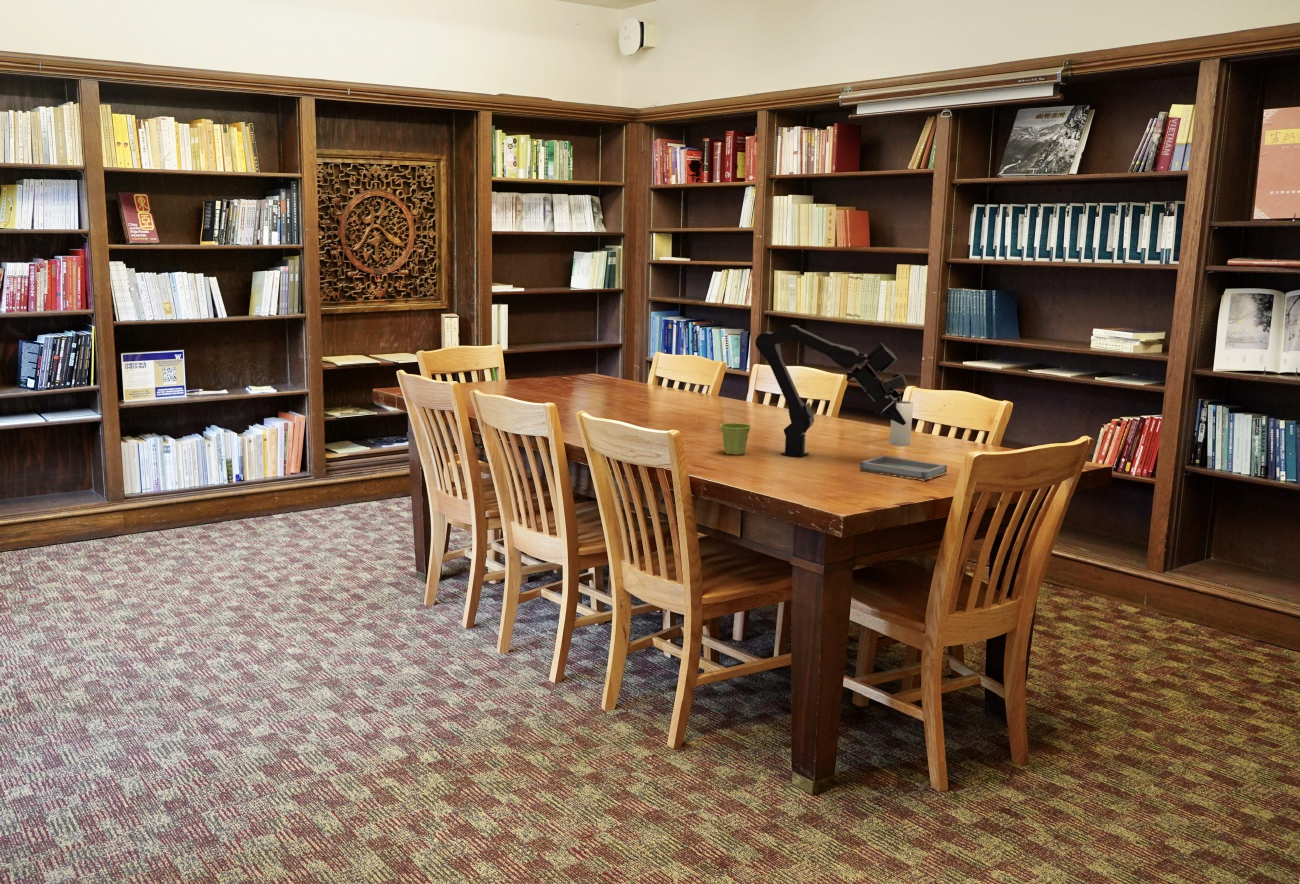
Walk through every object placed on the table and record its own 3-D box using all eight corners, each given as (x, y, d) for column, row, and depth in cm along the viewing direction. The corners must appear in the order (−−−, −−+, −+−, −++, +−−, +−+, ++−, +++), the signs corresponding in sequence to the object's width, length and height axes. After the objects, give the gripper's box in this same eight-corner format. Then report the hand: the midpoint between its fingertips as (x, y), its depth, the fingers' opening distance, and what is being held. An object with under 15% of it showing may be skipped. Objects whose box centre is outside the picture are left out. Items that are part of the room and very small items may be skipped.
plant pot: (724, 457, 334) (726, 428, 332) (714, 451, 343) (715, 423, 341) (754, 456, 336) (755, 427, 335) (743, 450, 345) (744, 422, 344)
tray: (924, 481, 307) (925, 472, 306) (859, 470, 319) (860, 462, 319) (946, 474, 317) (947, 465, 317) (882, 463, 330) (883, 455, 329)
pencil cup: (903, 447, 325) (906, 404, 323) (885, 444, 329) (888, 401, 327) (913, 444, 330) (916, 402, 327) (895, 441, 334) (898, 400, 331)
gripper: (887, 367, 318) (924, 409, 316) (895, 361, 335) (930, 400, 334) (857, 393, 322) (894, 434, 320) (867, 385, 339) (901, 424, 338)
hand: (906, 422), depth 328 cm, fingers closed on pencil cup, 6 cm apart
